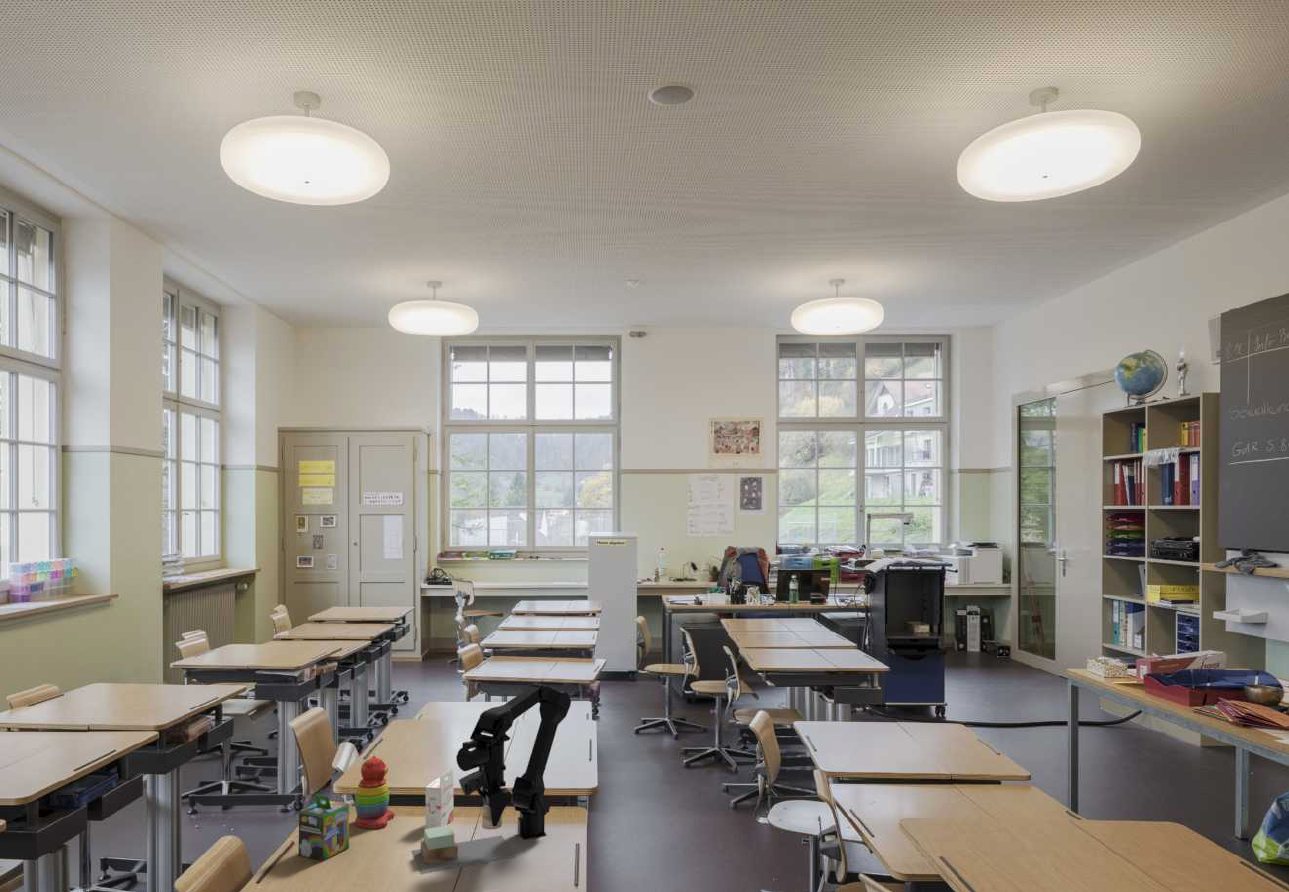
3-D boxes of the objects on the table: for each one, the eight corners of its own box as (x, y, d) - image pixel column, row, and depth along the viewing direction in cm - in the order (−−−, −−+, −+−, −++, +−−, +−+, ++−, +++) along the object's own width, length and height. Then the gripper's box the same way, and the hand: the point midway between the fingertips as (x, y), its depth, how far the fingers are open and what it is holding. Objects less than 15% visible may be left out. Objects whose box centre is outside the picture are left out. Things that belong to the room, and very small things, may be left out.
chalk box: (349, 848, 217) (351, 791, 218) (323, 862, 209) (324, 802, 210) (324, 842, 221) (325, 786, 222) (296, 855, 213) (298, 797, 214)
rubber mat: (501, 836, 224) (501, 835, 224) (516, 858, 210) (516, 856, 210) (411, 852, 214) (411, 850, 214) (420, 875, 201) (420, 874, 201)
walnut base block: (451, 847, 217) (451, 835, 217) (457, 858, 209) (457, 846, 210) (420, 852, 213) (420, 840, 214) (425, 864, 206) (425, 852, 206)
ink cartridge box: (437, 818, 238) (438, 766, 239) (453, 819, 237) (454, 767, 238) (424, 829, 229) (425, 775, 230) (440, 831, 228) (441, 777, 229)
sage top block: (449, 836, 216) (449, 825, 216) (454, 846, 210) (454, 834, 210) (424, 841, 213) (424, 829, 213) (428, 850, 207) (428, 838, 207)
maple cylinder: (499, 820, 217) (499, 801, 217) (503, 827, 212) (504, 807, 212) (480, 823, 215) (480, 804, 215) (484, 830, 210) (485, 810, 210)
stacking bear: (384, 829, 230) (385, 764, 231) (348, 829, 230) (349, 764, 231) (396, 814, 240) (397, 752, 242) (362, 814, 241) (363, 752, 242)
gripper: (454, 755, 220) (454, 815, 219) (469, 775, 203) (468, 840, 202) (495, 749, 224) (495, 808, 223) (513, 769, 207) (513, 833, 206)
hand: (492, 822), depth 213 cm, fingers closed on maple cylinder, 5 cm apart
